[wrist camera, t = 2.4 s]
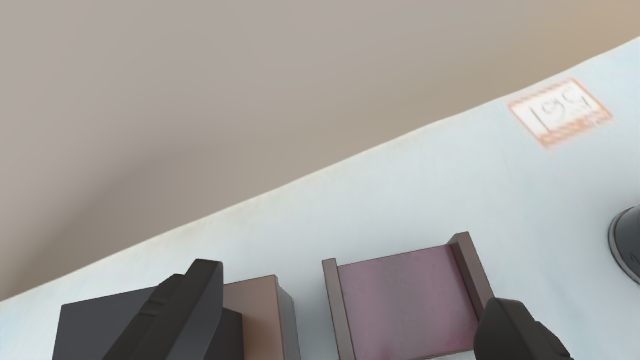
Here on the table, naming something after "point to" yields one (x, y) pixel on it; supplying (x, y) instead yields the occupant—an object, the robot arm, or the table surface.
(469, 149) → the table surface
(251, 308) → the walnut shelf
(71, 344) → the slim remote
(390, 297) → the cushioned bench
